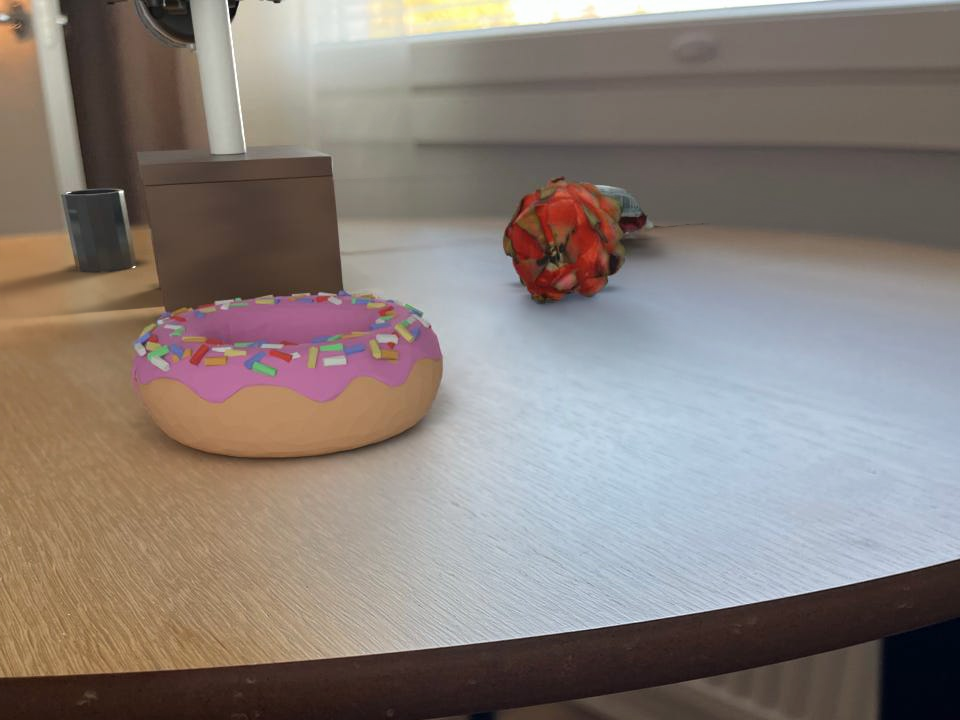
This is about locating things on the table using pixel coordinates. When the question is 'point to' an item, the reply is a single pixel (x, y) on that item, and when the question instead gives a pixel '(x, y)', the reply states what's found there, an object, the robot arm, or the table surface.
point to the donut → (288, 373)
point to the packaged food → (627, 210)
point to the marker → (218, 76)
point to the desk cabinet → (241, 223)
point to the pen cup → (99, 230)
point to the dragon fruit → (565, 240)
